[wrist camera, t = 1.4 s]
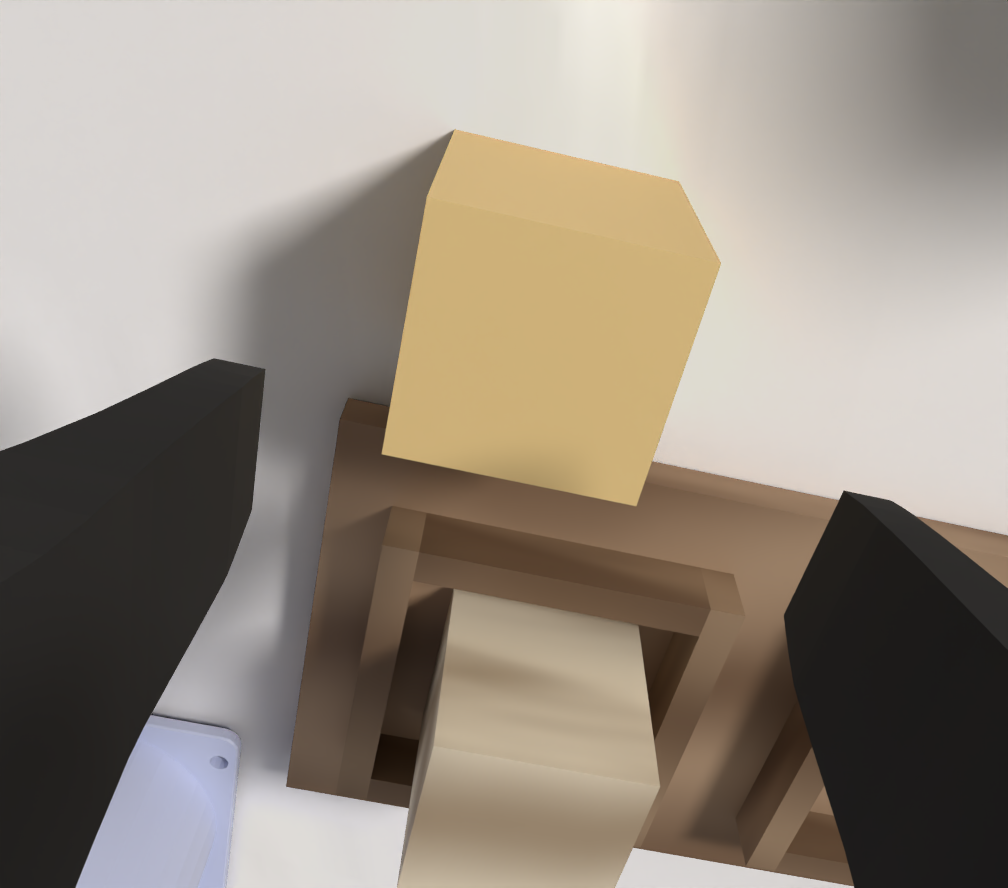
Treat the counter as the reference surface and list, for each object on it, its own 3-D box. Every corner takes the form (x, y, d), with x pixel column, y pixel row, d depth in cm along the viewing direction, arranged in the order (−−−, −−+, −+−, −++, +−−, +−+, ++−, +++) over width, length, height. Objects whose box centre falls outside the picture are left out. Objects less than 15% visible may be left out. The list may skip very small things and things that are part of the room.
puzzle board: (1331, 942, 29) (1502, 1165, 24) (294, 757, 27) (234, 962, 21) (1643, 668, 23) (1960, 885, 18) (348, 397, 21) (283, 560, 16)
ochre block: (616, 380, 20) (635, 505, 16) (416, 337, 20) (381, 454, 16) (678, 180, 18) (720, 263, 14) (454, 128, 18) (426, 197, 14)
